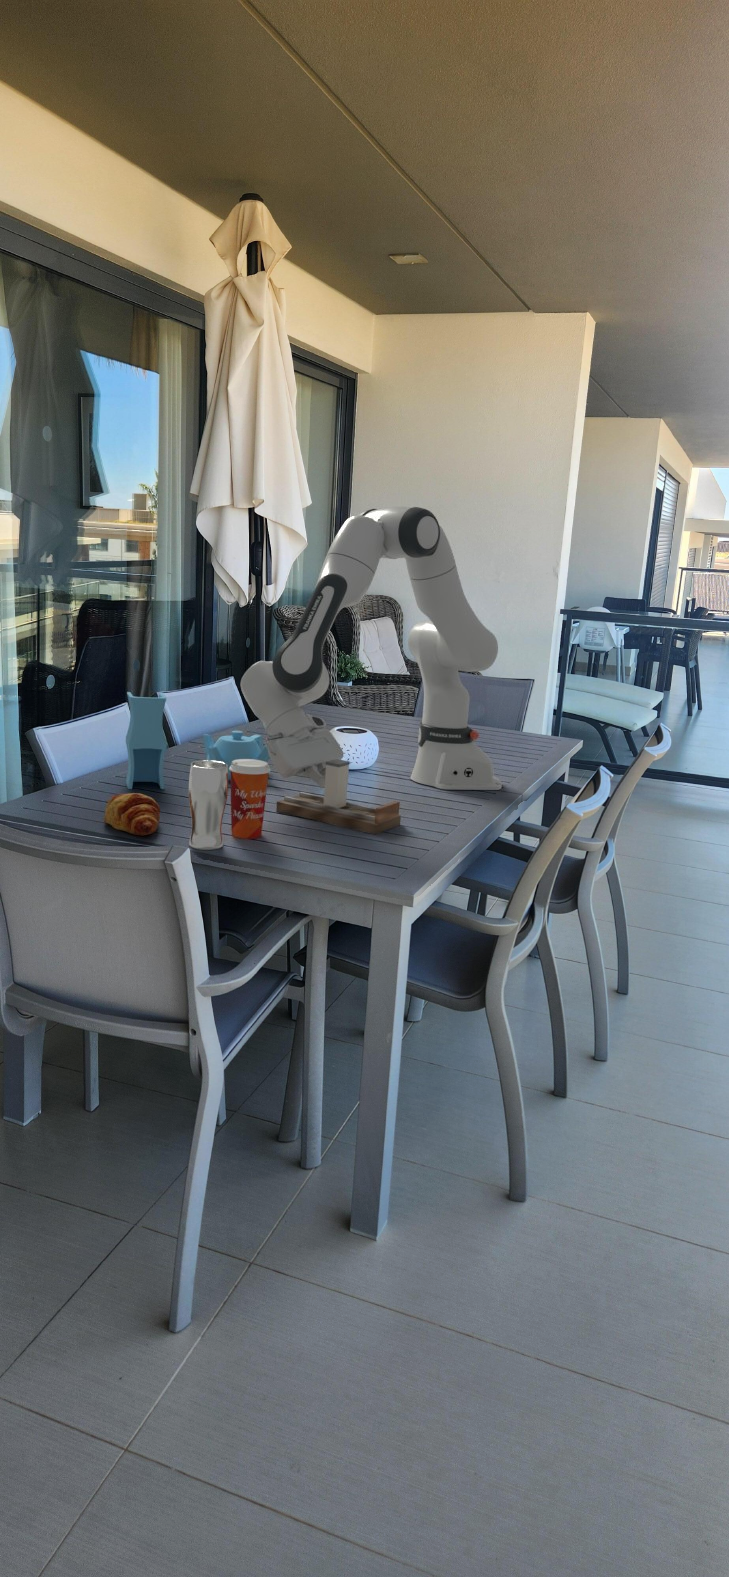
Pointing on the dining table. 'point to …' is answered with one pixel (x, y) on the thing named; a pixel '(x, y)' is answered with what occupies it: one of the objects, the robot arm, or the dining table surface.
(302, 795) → the brown wooden tray
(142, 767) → the vase
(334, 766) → the fader knob
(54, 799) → the dining table surface
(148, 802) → the croissant
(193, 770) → the beer glass
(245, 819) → the paper cup
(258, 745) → the teapot
